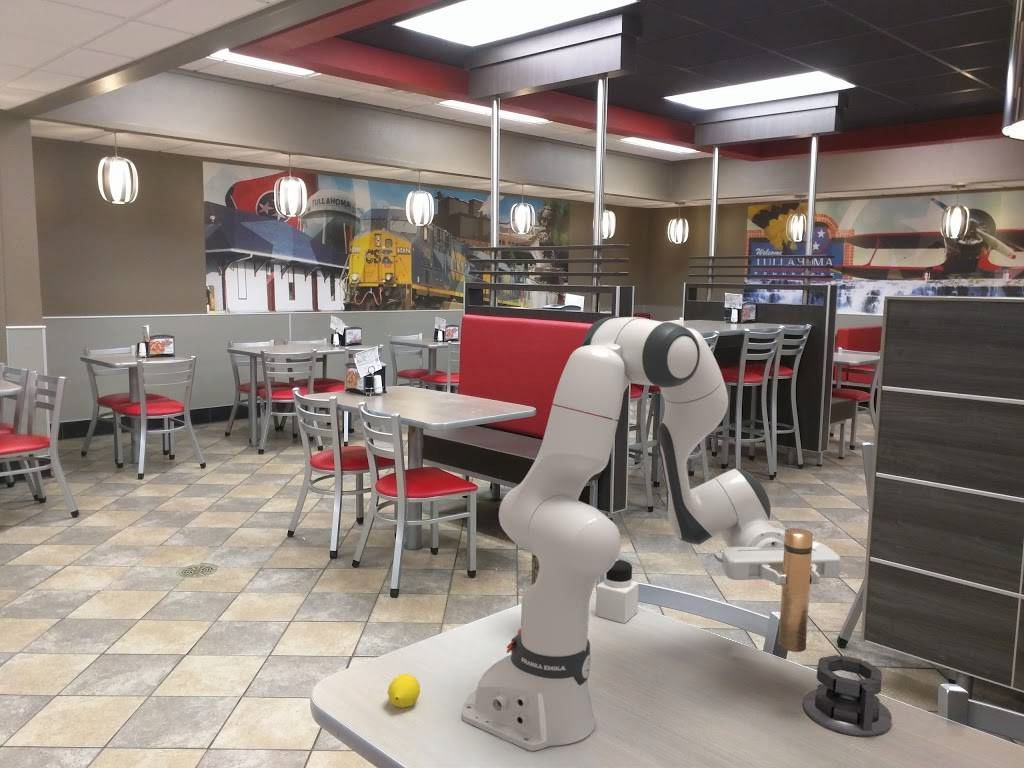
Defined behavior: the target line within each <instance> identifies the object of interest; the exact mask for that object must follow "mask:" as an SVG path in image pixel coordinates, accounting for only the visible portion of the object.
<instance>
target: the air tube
mask: <svg viewBox="0 0 1024 768" xmlns="http://www.w3.org/2000/svg"><path fill="white" fill-rule="evenodd" d="M784 530H785V539H784V557H783V574H785V575H786V580H785V581H786V584H785V585H781V595H780V610H779V611H780V612H779V613H780V614H779V631H778V646H779V647H780V648H781V649H783V650H785V651H788V652H792V653H800V652H804V651H806V649H807V639H808V637H807V635H808V624H809V623H808V622H809V621H808V620H809V608H810V607H809V605H810V604H809V603H810V591H811V589H810V588H811V587H810V586H811V584H810V575H811V559H812V542H813V536H814V533H813V532H812V531H810V530H807V529H804V528H796V527H792V528H791V527H790V528H787V529H784Z"/></svg>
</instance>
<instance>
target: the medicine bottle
mask: <svg viewBox="0 0 1024 768" xmlns="http://www.w3.org/2000/svg"><path fill="white" fill-rule="evenodd" d="M632 575H633V565H632V564H631V563H630V562H629V561H626V560H622V559H617V560H616V562H615V564H614V565H613V566H612V568H611V569H610V570H609V571H608V572H606V573H605V574H604V577H603V580H602V582H600V583H598V584H597V585H596V592H595V593H596V595H595V597H596V598H595V616H597V617H599V618H603V619H605V620H606V619H607V620H610V621H615V622H617V623H622V624H626V623H627V622H628V621H629V620H630V619H631V618H633V617H634V616H635V615H636V614H637V613H638V611H639V609H638V608H639V606H638V605H639V582H638V581H635V580H634V581H633V580H632V579H633V576H632Z"/></svg>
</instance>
